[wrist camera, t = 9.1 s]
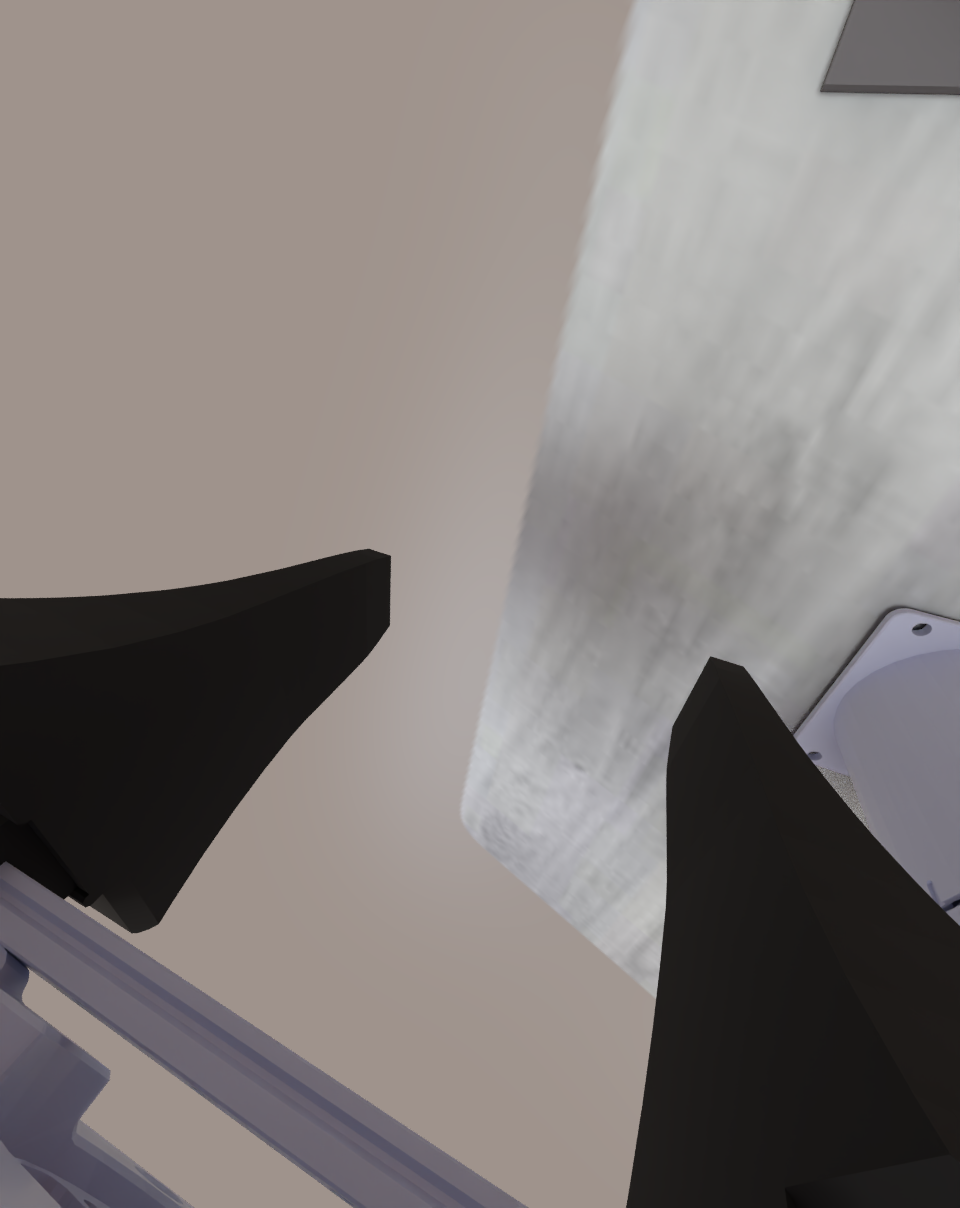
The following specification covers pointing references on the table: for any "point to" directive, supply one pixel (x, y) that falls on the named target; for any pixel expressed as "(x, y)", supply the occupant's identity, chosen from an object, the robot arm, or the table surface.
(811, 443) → the table surface
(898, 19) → the mat
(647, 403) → the table surface
